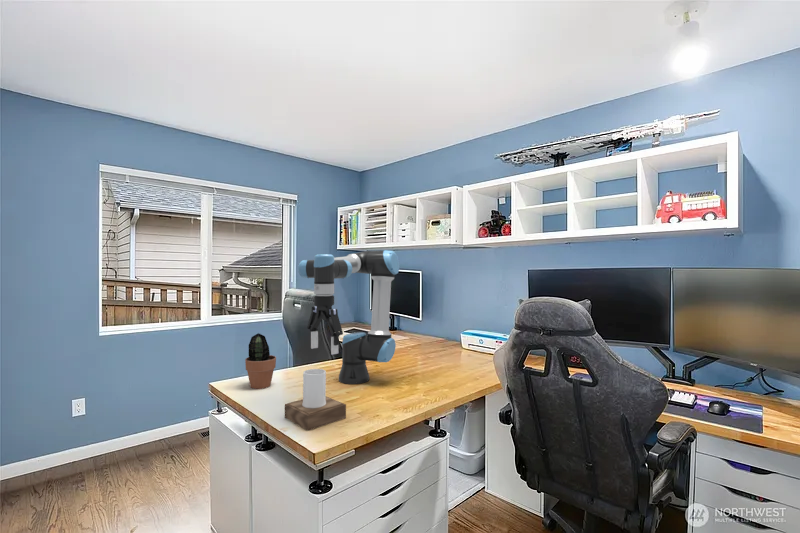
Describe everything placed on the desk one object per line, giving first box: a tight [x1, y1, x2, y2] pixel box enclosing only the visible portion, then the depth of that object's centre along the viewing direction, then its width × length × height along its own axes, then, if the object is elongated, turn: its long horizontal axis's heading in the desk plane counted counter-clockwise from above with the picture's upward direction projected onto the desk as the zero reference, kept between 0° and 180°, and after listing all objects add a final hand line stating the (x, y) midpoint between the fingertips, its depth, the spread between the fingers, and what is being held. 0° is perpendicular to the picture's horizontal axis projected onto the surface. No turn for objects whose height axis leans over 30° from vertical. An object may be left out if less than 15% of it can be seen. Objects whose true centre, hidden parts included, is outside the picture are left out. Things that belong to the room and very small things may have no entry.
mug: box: [302, 368, 327, 408], centre depth 142 cm, size 12×8×12 cm
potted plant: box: [244, 332, 277, 390], centre depth 180 cm, size 14×14×25 cm
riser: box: [284, 395, 347, 431], centre depth 142 cm, size 16×16×5 cm
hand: (324, 350), depth 146 cm, fingers open, 13 cm apart
